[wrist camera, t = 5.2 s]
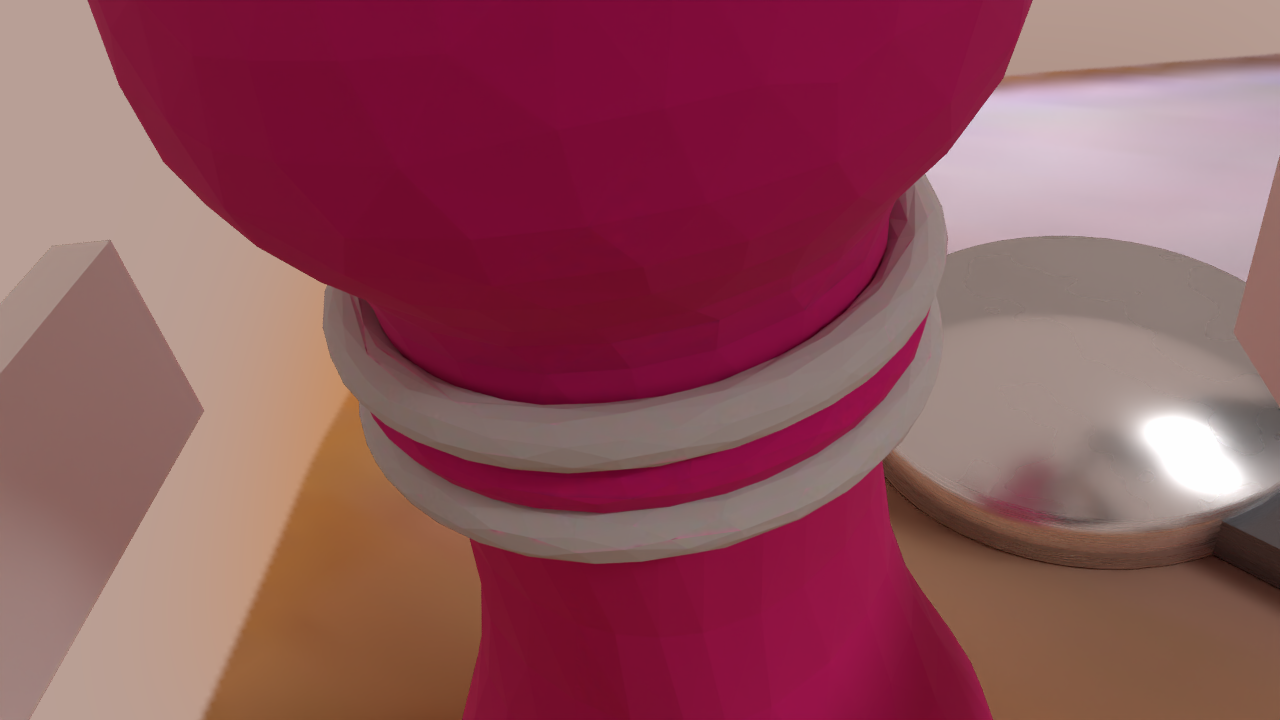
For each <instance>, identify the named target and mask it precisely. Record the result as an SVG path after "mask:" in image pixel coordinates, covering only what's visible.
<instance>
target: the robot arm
mask: <svg viewBox="0 0 1280 720" xmlns="http://www.w3.org/2000/svg"><path fill="white" fill-rule="evenodd" d="M1233 333H1234V334H1235V336H1236V337H1237V339H1238V341H1239V342H1240V344H1241V346H1242V347H1243V349H1244V350H1245V352H1246V354H1247V355H1248V357H1249V358H1250V360H1251V362H1252V363H1253V365H1254V367H1255V368H1256V370H1257V371H1258V373H1259V375H1260V376H1261V378H1262V380H1263V381H1264V383H1265V384H1266V386H1267V388H1268V389H1269V391H1270V392H1271V394H1272V396H1273V397H1274V399H1275V401H1276V402H1277V404H1278V405H1279V407H1280V157H1279V161H1278V164H1277V168H1276V172H1275V176H1274V180H1273V184H1272V187H1271V191H1270V195H1269V199H1268V203H1267V206H1266V210H1265V214H1264V218H1263V222H1262V225H1261V229H1260V233H1259V237H1258V241H1257V244H1256V248H1255V252H1254V256H1253V260H1252V264H1251V267H1250V271H1249V275H1248V279H1247V283H1246V286H1245V290H1244V294H1243V298H1242V302H1241V305H1240V309H1239V313H1238V317H1237V321H1236V324H1235V328H1234V332H1233ZM203 412H204V409H203V407H202V406H201V404H200V402H199V400H198V398H197V396H196V395H195V393H194V391H193V389H192V387H191V386H190V384H189V382H188V380H187V378H186V376H185V375H184V373H183V371H182V369H181V367H180V366H179V364H178V362H177V360H176V358H175V356H174V355H173V353H172V351H171V349H170V347H169V346H168V344H167V342H166V340H165V338H164V337H163V335H162V333H161V331H160V329H159V327H158V326H157V324H156V322H155V320H154V318H153V317H152V315H151V313H150V311H149V309H148V308H147V306H146V304H145V302H144V300H143V298H142V297H141V295H140V293H139V291H138V289H137V288H136V286H135V284H134V282H133V280H132V279H131V277H130V275H129V273H128V271H127V269H126V268H125V266H124V264H123V262H122V261H121V259H120V257H119V255H118V253H117V251H116V249H115V248H114V246H113V244H112V242H111V240H106V241H96V242H85V243H76V244H66V245H56V246H51V248H50V249H49V250H48V251H47V252H46V253H45V254H44V255H43V257H42V258H41V259H40V260H39V261H38V262H37V263H36V264H35V265H34V267H33V268H32V269H31V270H30V271H29V272H28V273H27V275H26V276H25V277H24V278H23V279H22V280H21V281H20V282H19V283H18V284H17V286H16V287H15V288H14V289H13V290H12V291H11V292H10V293H9V295H8V296H7V297H6V298H5V299H4V300H3V301H2V302H1V304H0V720H29V719H30V717H31V716H32V714H33V712H34V710H35V709H36V707H37V705H38V703H39V701H40V700H41V698H42V696H43V694H44V693H45V691H46V689H47V687H48V686H49V684H50V682H51V680H52V678H53V676H54V675H55V673H56V671H57V670H58V668H59V666H60V664H61V663H62V661H63V659H64V657H65V656H66V654H67V652H68V650H69V648H70V647H71V645H72V643H73V641H74V639H75V638H76V636H77V634H78V633H79V631H80V629H81V627H82V625H83V624H84V622H85V620H86V618H87V617H88V615H89V613H90V611H91V610H92V607H93V606H94V604H95V602H96V601H97V599H98V597H99V595H100V594H101V592H102V590H103V588H104V587H105V585H106V583H107V581H108V580H109V578H110V576H111V574H112V572H113V571H114V569H115V567H116V565H117V564H118V562H119V560H120V558H121V556H122V555H123V553H124V551H125V549H126V548H127V546H128V544H129V542H130V541H131V539H132V537H133V535H134V533H135V532H136V530H137V528H138V527H139V525H140V523H141V521H142V519H143V518H144V516H145V514H146V512H147V510H148V509H149V507H150V505H151V503H152V502H153V500H154V498H155V496H156V495H157V493H158V491H159V489H160V488H161V486H162V484H163V482H164V481H165V479H166V477H167V475H168V474H169V472H170V470H171V468H172V466H173V465H174V463H175V461H176V459H177V458H178V456H179V454H180V452H181V451H182V449H183V447H184V445H185V443H186V441H187V440H188V438H189V436H190V435H191V433H192V431H193V429H194V428H195V426H196V424H197V422H198V420H199V419H200V417H201V415H202V413H203Z"/></svg>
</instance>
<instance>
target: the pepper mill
mask: <svg viewBox="0 0 1280 720" xmlns="http://www.w3.org/2000/svg"><path fill="white" fill-rule="evenodd" d="M88 2H89V5H90V8H91V11H92V13H93V16H94V19H95V21H96V24H97V27H98V30H99V32H100V35H101V38H102V40H103V43H104V46H105V48H106V51H107V54H108V57H109V59H110V61H111V64H112V67H113V70H114V73H115V75H116V78H117V81H118V83H119V86H120V88H121V89H122V91H123V93H124V95H125V96H126V98H127V100H128V101H129V103H130V105H131V106H132V108H133V110H134V112H135V113H136V115H137V117H138V119H139V120H140V122H141V124H142V126H143V127H144V129H145V131H146V133H147V134H148V136H149V138H150V139H151V141H152V143H153V145H154V146H155V148H156V150H157V151H158V153H159V155H160V157H161V158H162V160H163V162H164V163H165V164H166V165H167V166H168V167H169V168H170V169H171V170H172V171H173V172H174V173H175V174H176V175H177V176H178V177H179V178H180V179H181V180H182V181H183V182H184V183H185V184H186V185H187V186H188V187H189V188H190V189H191V190H192V191H193V192H194V193H195V194H196V195H197V196H198V197H199V198H200V199H201V200H202V201H203V202H204V203H205V204H206V205H207V206H208V207H209V208H211V209H212V210H213V211H214V212H216V213H217V214H218V215H219V216H220V217H222V218H223V219H224V220H225V221H227V222H228V223H229V224H230V225H231V226H233V227H234V228H235V229H236V230H238V231H239V232H240V233H241V234H242V235H244V236H245V237H246V238H247V239H248V240H250V241H251V242H252V243H253V244H255V245H256V246H257V247H259V248H261V249H262V250H264V251H266V252H268V253H270V254H271V255H273V256H275V257H277V258H279V259H280V260H282V261H284V262H286V263H288V264H289V265H291V266H293V267H295V268H296V269H298V270H300V271H302V272H303V273H305V274H307V275H309V276H311V277H313V278H314V279H316V280H318V281H320V282H322V283H324V284H327V287H326V290H325V296H324V297H325V298H324V317H323V330H324V334H325V338H326V341H327V345H328V349H329V353H330V356H331V358H332V361H333V363H334V364H335V367H336V369H337V371H338V373H339V375H340V377H341V379H342V381H343V383H344V385H345V386H346V387H347V388H348V389H349V390H350V391H351V393H352V394H353V395H354V396H355V397H356V398H357V399H358V401H359V415H360V419H361V423H362V426H363V430H364V434H365V438H366V442H367V445H368V447H369V449H370V451H371V453H372V455H373V457H374V459H375V461H376V463H377V464H378V466H379V467H380V469H381V470H382V472H383V473H384V475H385V476H386V478H387V479H388V480H389V481H390V482H391V483H392V484H393V485H394V486H395V487H396V488H397V489H398V490H399V491H400V492H401V493H402V494H403V495H404V496H405V497H406V498H407V499H408V500H409V501H410V502H411V503H412V504H413V505H414V506H416V507H417V508H418V509H420V510H421V511H423V512H424V513H425V514H427V515H428V516H430V517H431V518H432V519H434V520H435V521H437V522H438V523H440V524H442V525H444V526H446V527H448V528H450V529H452V530H454V531H456V532H458V533H460V534H462V535H465V536H467V537H469V538H470V542H471V546H472V549H473V553H474V557H475V561H476V565H477V569H478V573H479V577H480V581H481V598H482V637H481V642H480V647H479V653H478V657H477V661H476V665H475V669H474V673H473V677H472V682H471V686H470V690H469V694H468V698H467V702H466V706H465V710H464V714H463V718H462V720H993V718H992V715H991V713H990V710H989V707H988V704H987V701H986V699H985V696H984V693H983V690H982V688H981V685H980V683H979V681H978V678H977V676H976V674H975V671H974V669H973V666H972V664H971V662H970V660H969V659H968V657H967V655H966V654H965V652H964V651H963V649H962V647H961V646H960V644H959V643H958V641H957V640H956V638H955V636H954V635H953V633H952V632H951V630H950V629H949V627H948V626H947V624H946V623H945V622H944V620H943V619H942V618H941V616H940V615H939V613H938V612H937V611H936V609H935V608H934V607H933V605H932V604H931V602H930V601H929V600H928V598H927V597H926V595H925V594H924V593H923V591H922V590H921V589H920V587H919V586H918V584H917V582H916V581H915V579H914V578H913V576H912V575H911V573H910V571H909V570H908V568H907V567H906V565H905V562H904V560H903V557H902V554H901V552H900V549H899V546H898V543H897V541H896V538H895V535H894V533H893V530H892V527H891V524H890V517H889V509H888V501H887V493H886V485H885V477H884V470H883V462H882V460H883V459H884V458H885V457H886V456H887V455H888V454H889V453H890V452H892V451H893V450H894V449H895V448H896V447H897V446H898V445H899V444H900V443H901V442H902V441H903V440H904V438H905V437H906V435H907V434H908V432H909V430H910V429H911V427H912V426H913V424H914V423H915V421H916V419H917V418H918V416H919V415H920V413H921V412H922V410H923V409H924V406H925V404H926V402H927V400H928V398H929V396H930V394H931V391H932V389H933V387H934V384H935V381H936V378H937V375H938V371H939V367H940V362H941V357H942V350H943V340H944V332H943V326H942V319H941V313H940V308H939V304H938V301H937V297H936V292H937V289H938V287H939V284H940V281H941V278H942V275H943V272H944V268H945V265H946V256H947V243H948V236H947V231H946V225H945V220H944V215H943V210H942V206H941V204H940V202H939V200H938V198H937V196H936V194H935V192H934V190H933V188H932V186H931V184H930V182H929V181H928V179H927V177H926V175H925V173H926V172H927V171H928V170H929V169H930V168H932V167H933V166H934V165H935V164H936V163H937V162H938V161H939V160H940V159H941V158H942V157H943V156H944V155H946V154H947V153H948V151H949V150H950V149H951V147H952V146H953V145H954V143H955V142H956V141H957V139H958V138H959V137H960V135H961V134H962V133H963V131H964V130H965V129H966V127H967V126H968V125H969V123H970V122H971V121H972V119H973V118H974V117H975V115H976V114H977V113H978V111H979V110H980V109H981V107H982V106H983V105H984V103H985V102H986V101H987V99H988V98H989V97H990V95H991V94H992V93H993V91H994V90H995V88H996V87H997V86H998V84H999V83H1000V82H1001V80H1002V79H1003V77H1004V75H1005V72H1006V69H1007V67H1008V64H1009V62H1010V59H1011V56H1012V54H1013V51H1014V48H1015V46H1016V43H1017V41H1018V38H1019V35H1020V33H1021V29H1022V27H1023V24H1024V22H1025V19H1026V16H1027V14H1028V11H1029V8H1030V6H1031V3H1032V0H88Z"/></svg>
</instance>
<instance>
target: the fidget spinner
mask: <svg viewBox="0 0 1280 720" xmlns="http://www.w3.org/2000/svg"><path fill="white" fill-rule="evenodd" d="M1245 286H1246V283H1245V282H1244V281H1242V280H1240V279H1239V278H1237V277H1235V276H1233V275H1231V274H1229V273H1227V272H1224V271H1222V270H1220V269H1218V268H1216V267H1214V266H1212V265H1209V264H1206V263H1204V262H1201V261H1198V260H1196V259H1193V258H1190V257H1188V256H1185V255H1181V254H1178V253H1174V252H1171V251H1168V250H1164V249H1161V248H1156V247H1152V246H1147V245H1143V244H1138V243H1133V242H1127V241H1120V240H1113V239H1107V238H1094V237H1082V236H1042V237H1026V238H1018V239H1010V240H1002V241H997V242H992V243H987V244H982V245H978V246H974V247H971V248H967V249H964V250H960V251H957V252H954V253H951V254H949V255H947V256H946V265H945V268H944V272H943V275H942V278H941V281H940V284H939V287H938V289H937V292H936V297H937V301H938V304H939V308H940V313H941V319H942V326H943V332H944V340H943V350H942V357H941V362H940V367H939V371H938V375H937V378H936V381H935V384H934V387H933V389H932V391H931V394H930V396H929V398H928V400H927V402H926V404H925V406H924V409H923V410H922V412H921V413H920V415H919V416H918V418H917V419H916V421H915V423H914V424H913V426H912V427H911V429H910V430H909V432H908V434H907V435H906V437H905V438H904V440H903V441H902V442H901V443H900V444H899V445H898V446H897V447H896V448H895V449H894V450H893V451H892V452H890V453H889V454H888V455H887V456H886V457H885V458H884V459H883V460H882V462H883V470H884V476H885V477H886V478H887V479H888V481H889V482H890V483H891V484H892V485H893V486H894V487H895V488H896V489H897V491H899V492H900V493H901V494H902V495H903V496H904V497H906V498H907V499H908V500H909V501H910V502H911V503H913V504H914V505H915V506H916V507H917V508H919V509H920V510H922V511H923V512H925V513H926V514H928V515H929V516H931V517H932V518H934V519H935V520H937V521H938V522H940V523H941V524H943V525H945V526H947V527H949V528H951V529H953V530H955V531H957V532H959V533H960V534H962V535H964V536H966V537H968V538H971V539H973V540H976V541H978V542H981V543H983V544H986V545H988V546H991V547H993V548H996V549H998V550H1002V551H1005V552H1009V553H1012V554H1015V555H1019V556H1022V557H1026V558H1029V559H1034V560H1039V561H1044V562H1049V563H1054V564H1059V565H1066V566H1076V567H1086V568H1096V569H1137V568H1147V567H1158V566H1167V565H1172V564H1177V563H1182V562H1187V561H1192V560H1196V559H1200V558H1203V557H1206V556H1209V555H1212V554H1213V555H1215V556H1217V557H1219V558H1221V559H1222V560H1224V561H1226V562H1228V563H1230V564H1232V565H1234V566H1236V567H1238V568H1240V569H1242V570H1244V571H1246V572H1248V573H1250V574H1252V575H1254V576H1256V577H1258V578H1260V579H1262V580H1264V581H1265V582H1267V583H1269V584H1271V585H1273V586H1275V587H1277V588H1279V589H1280V407H1279V405H1278V404H1277V402H1276V401H1275V399H1274V397H1273V396H1272V394H1271V392H1270V391H1269V389H1268V388H1267V386H1266V384H1265V383H1264V381H1263V380H1262V378H1261V376H1260V375H1259V373H1258V371H1257V370H1256V368H1255V367H1254V365H1253V363H1252V362H1251V360H1250V358H1249V357H1248V355H1247V354H1246V352H1245V350H1244V349H1243V347H1242V346H1241V344H1240V342H1239V341H1238V339H1237V337H1236V336H1235V334H1234V333H1233V332H1234V328H1235V324H1236V321H1237V317H1238V313H1239V309H1240V305H1241V302H1242V298H1243V294H1244V290H1245Z"/></svg>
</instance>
